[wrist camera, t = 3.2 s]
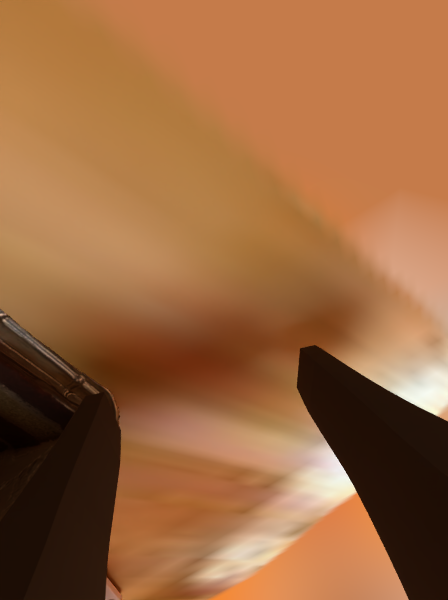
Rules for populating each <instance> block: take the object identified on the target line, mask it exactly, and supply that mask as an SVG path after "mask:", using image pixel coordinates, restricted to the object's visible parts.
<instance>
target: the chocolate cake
mask: <svg viewBox="0 0 448 600" xmlns="http://www.w3.org/2000/svg"><path fill="white" fill-rule="evenodd" d="M101 392H105V394H106V396H107V398H108V401H109V403H110V406H111V408H112V410H113V413H114V415H115V418H116V420H117V422H118V425H119V421H118V420H119V417H120V416H119V410H118V408H119V407H118V408H117V407H116V401H115V400H113V399H114V398H113V397H114V395H112V393H111V392H110V390H108V389H107V388H105V387H103V386H101V385H100V384H98V383H97V382H95V381H94V380H93V379H91V378H89V377H88V376H87V375H86V374H84V373H82V372H80V371H79V370H77V369H76V368H75V367H74V366H72V365H71V364H69V363H68V362H67V361H65V360H64V359H62V358H61V357H60V356H59V355H58V354H56V353H55V352H54V351H53V350H51V349H50V348H49V347H47V346H46V345H44V344H43V343H42V342H40V341H39V340H37V339H36V338H34V337H33V336H32V335H31V334H30V333H29V332H27V331H26V330H24V329H23V328H22V327H21V326H19V325H18V324H17V323H16V322H15V321H14V320H13V319H12V318H11V317H10V316H8V315H7V314H6V313H5V312H3V311H2V310H1V309H0V521H1V519H2V518H3V517H4V515H5V514H6V513H7V511H8V510H9V509H10V507H11V506H12V505H13V503H14V502H15V501H16V499H17V498H18V496H19V495H20V494H21V492H22V491H23V489H24V488H25V487H26V485H27V484H28V482H29V481H30V480H31V478H32V477H33V475H34V474H35V473H36V471H37V470H38V468H39V467H40V465H41V464H42V462H43V461H44V459H45V458H46V456H47V455H48V453H49V452H50V450H51V449H52V447H53V446H54V444H55V443H56V441H57V440H58V438H59V437H60V435H61V434H62V432H63V430H64V429H65V427H66V426H67V424H68V422H69V421H70V419H71V418H72V416H73V414H74V413H75V411H76V410H77V408H78V406H79V405H80V403H81V402H82V400H83V399H84V397H85V396H88V395H92V394H97V393H101Z"/></svg>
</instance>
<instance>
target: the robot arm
mask: <svg viewBox="0 0 448 600" xmlns="http://www.w3.org/2000/svg"><path fill="white" fill-rule="evenodd" d="M297 389H298V391H299V393H300V395H301V397H302V400H303V402H304V404H305V406H306V408H307V410H308V412H309V414H310V415H311V417H312V419H313V420H314V422H315V423H316V425H317V427H318V428H319V430H320V432H321V433H322V435H323V436H324V438H325V439H326V441H327V443H328V444H329V446H330V447H331V449H332V451H333V452H334V454H335V455H336V457H337V459H338V460H339V462H340V463H341V465H342V466H343V468H344V470H345V471H346V473H347V475H348V477H349V478H350V480H351V482H352V483H353V485H354V487H355V489H356V491H357V493H358V495H359V497H360V498H361V501H362V503H363V505H364V507H365V509H366V510H367V512H368V514H369V516H370V518H371V520H372V522H373V525H374V527H375V529H376V531H377V533H378V535H379V537H380V539H381V541H382V543H383V545H384V547H385V549H386V551H387V553H388V555H389V557H390V560H391V562H392V564H393V566H394V568H395V570H396V573H397V574H398V577H399V579H400V581H401V583H402V585H403V588H404V590H405V592H406V594H407V596H408V599H409V600H448V421H446V420H444V419H442V418H440V417H438V416H436V415H434V414H432V413H430V412H427V411H425V410H423V409H421V408H419V407H417V406H415V405H414V404H412V403H410V402H408V401H406V400H404V399H402V398H401V397H399V396H397V395H395V394H393V393H392V392H390V391H388V390H386V389H384V388H383V387H381V386H379V385H378V384H376V383H374V382H373V381H371V380H369V379H368V378H366V377H364V376H363V375H361V374H360V373H358V372H356V371H355V370H353V369H352V368H350V367H349V366H347V365H345V364H344V363H342V362H341V361H339V360H338V359H336V358H335V357H333V356H331V355H330V354H328V353H327V352H325V351H324V350H322V349H321V348H319V347H317V346H316V345H314V346H309V347H305V348H300V356H299V367H298V379H297ZM120 452H121V430H120V427H119V425H118V422H117V420H116V418H115V415H114V413H113V410H112V408H111V406H110V403H109V401H108V398H107V396H106V394H105V392H101V393H97V394H92V395H88V396H85V397H84V399H83V400H82V402H81V403H80V405H79V406H78V408H77V410H76V411H75V413H74V414H73V416H72V418H71V419H70V421H69V422H68V424H67V426H66V427H65V429H64V430H63V432H62V434H61V435H60V437H59V438H58V440H57V441H56V443H55V444H54V446H53V447H52V449H51V450H50V452H49V453H48V455H47V456H46V458H45V459H44V461H43V462H42V464H41V465H40V467H39V468H38V470H37V471H36V473H35V474H34V475H33V477H32V478H31V480H30V481H29V482H28V484H27V485H26V487H25V488H24V489H23V491H22V492H21V494H20V495H19V496H18V498H17V499H16V501H15V502H14V503H13V505H12V506H11V507H10V509H9V510H8V511H7V513H6V514H5V515H4V517H3V518H2V519H1V521H0V600H122V595H121V594H120V593H119V592H118V590H117V589H116V588H115V587H114V585H113V584H112V583H111V582H110V580H109V579H108V578H107V561H108V551H109V542H110V534H111V527H112V520H113V512H114V505H115V498H116V490H117V483H118V475H119V467H120Z"/></svg>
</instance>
